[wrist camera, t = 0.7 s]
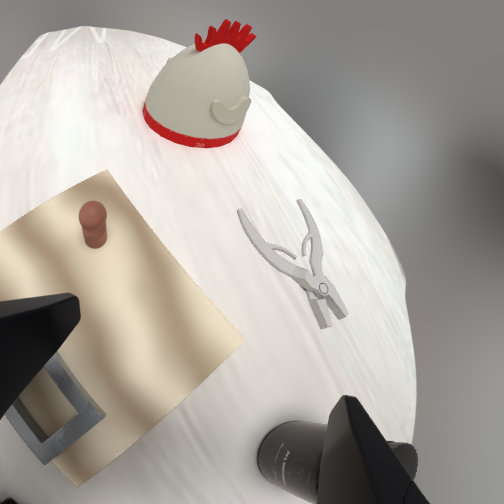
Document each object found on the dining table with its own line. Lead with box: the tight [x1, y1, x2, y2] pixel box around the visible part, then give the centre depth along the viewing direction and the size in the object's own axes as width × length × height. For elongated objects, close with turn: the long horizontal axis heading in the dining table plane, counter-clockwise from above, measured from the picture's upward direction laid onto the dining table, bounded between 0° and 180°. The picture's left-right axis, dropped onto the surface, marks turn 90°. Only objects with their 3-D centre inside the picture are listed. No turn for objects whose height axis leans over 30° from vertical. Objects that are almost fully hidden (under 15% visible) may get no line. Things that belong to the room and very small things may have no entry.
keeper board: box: [0, 170, 245, 487], centre depth 15 cm, size 19×20×6 cm
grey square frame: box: [5, 351, 107, 465], centre depth 11 cm, size 6×6×2 cm
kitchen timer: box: [143, 19, 256, 148], centre depth 27 cm, size 14×14×15 cm
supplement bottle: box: [259, 421, 418, 504], centre depth 14 cm, size 7×7×12 cm
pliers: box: [237, 199, 349, 329], centre depth 29 cm, size 10×2×15 cm
